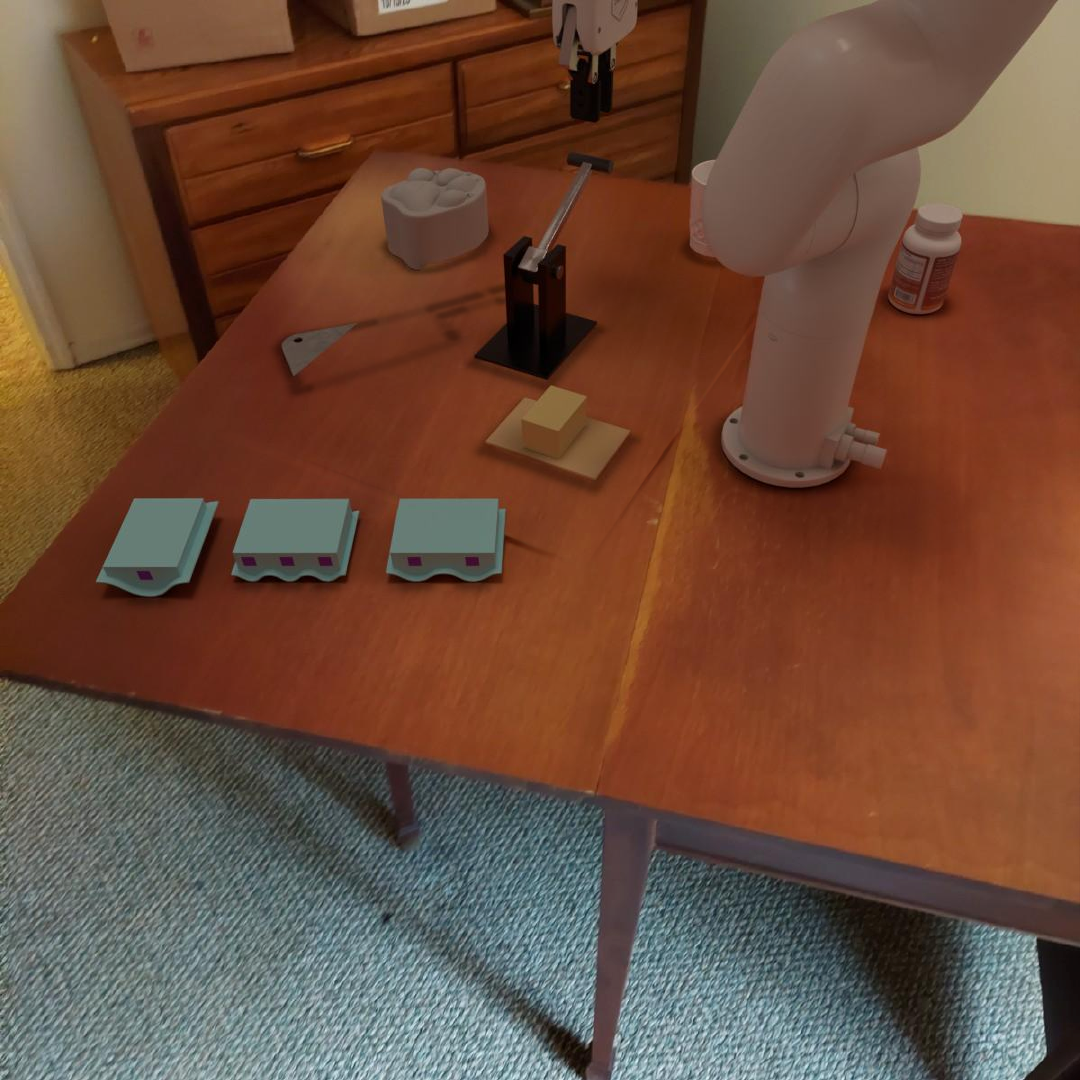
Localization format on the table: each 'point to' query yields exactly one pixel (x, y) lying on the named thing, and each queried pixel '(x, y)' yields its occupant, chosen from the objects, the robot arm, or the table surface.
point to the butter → (554, 422)
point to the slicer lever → (562, 211)
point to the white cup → (699, 208)
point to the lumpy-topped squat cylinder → (435, 215)
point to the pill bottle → (926, 259)
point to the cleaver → (310, 346)
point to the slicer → (535, 317)
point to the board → (579, 458)
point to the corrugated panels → (303, 541)
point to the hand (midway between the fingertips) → (591, 113)
